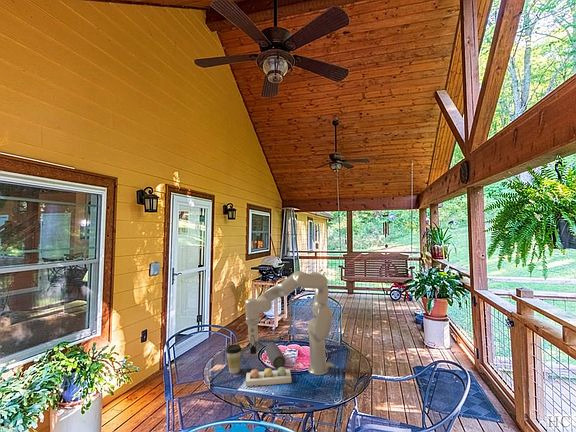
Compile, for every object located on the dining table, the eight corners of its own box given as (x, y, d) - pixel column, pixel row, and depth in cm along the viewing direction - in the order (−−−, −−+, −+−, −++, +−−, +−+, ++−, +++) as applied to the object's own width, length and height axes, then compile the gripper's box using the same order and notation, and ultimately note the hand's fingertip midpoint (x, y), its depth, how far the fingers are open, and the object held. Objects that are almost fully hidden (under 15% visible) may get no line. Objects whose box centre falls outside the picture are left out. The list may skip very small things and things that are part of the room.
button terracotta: (258, 374, 179) (258, 368, 179) (258, 377, 174) (258, 372, 174) (251, 374, 178) (250, 369, 178) (250, 378, 174) (250, 373, 174)
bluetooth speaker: (264, 357, 208) (264, 342, 208) (277, 355, 210) (277, 340, 210) (272, 372, 186) (271, 356, 186) (286, 370, 188) (286, 354, 188)
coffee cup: (239, 375, 184) (238, 350, 184) (224, 374, 186) (223, 350, 186) (244, 367, 193) (243, 344, 194) (230, 367, 195) (229, 343, 196)
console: (289, 373, 183) (289, 369, 183) (291, 382, 173) (291, 377, 173) (246, 377, 181) (246, 372, 181) (245, 386, 171) (245, 381, 171)
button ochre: (271, 372, 179) (271, 367, 180) (272, 376, 175) (272, 371, 175) (264, 373, 179) (264, 368, 179) (264, 377, 175) (264, 372, 175)
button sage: (285, 371, 180) (285, 366, 180) (285, 375, 176) (285, 370, 176) (278, 372, 180) (277, 367, 180) (278, 376, 175) (278, 370, 176)
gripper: (258, 325, 169) (259, 356, 168) (258, 315, 186) (260, 344, 186) (245, 326, 168) (246, 357, 168) (246, 316, 185) (247, 344, 185)
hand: (253, 350), depth 177 cm, fingers open, 8 cm apart
